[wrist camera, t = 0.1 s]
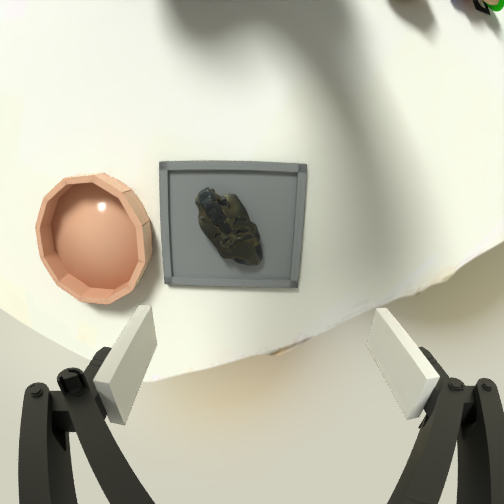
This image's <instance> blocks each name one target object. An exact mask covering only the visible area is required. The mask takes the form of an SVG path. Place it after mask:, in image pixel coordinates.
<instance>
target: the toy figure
mask: <svg viewBox="0 0 504 504" xmlns="http://www.w3.org/2000/svg"><path fill="white" fill-rule="evenodd" d="M473 2H474V5H475V8H476V9H477V10H480V11H482V12H484V13H487V14H489V15H490V12H489V9H488V7H489V8H490V9H492V10H493V11H500V10H501V9H502V8H503V6H504V0H473Z"/></svg>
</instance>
